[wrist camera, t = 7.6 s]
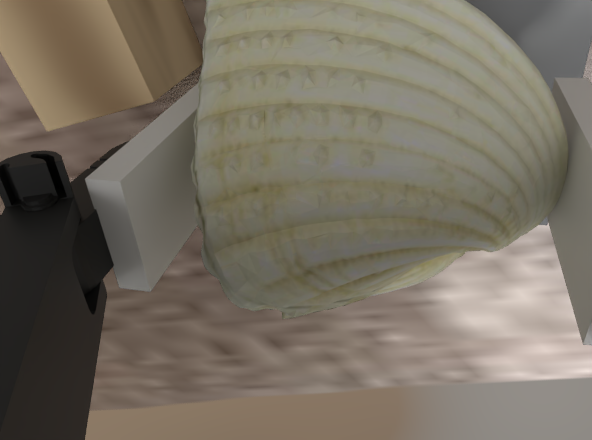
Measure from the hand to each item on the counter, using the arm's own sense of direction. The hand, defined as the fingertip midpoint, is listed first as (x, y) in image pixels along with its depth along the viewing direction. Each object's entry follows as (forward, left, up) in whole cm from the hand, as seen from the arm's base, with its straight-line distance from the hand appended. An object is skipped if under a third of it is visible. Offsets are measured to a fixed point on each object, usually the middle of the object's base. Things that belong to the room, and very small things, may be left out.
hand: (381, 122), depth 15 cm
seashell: (0, +1, 0) cm, 1 cm away
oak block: (-11, +1, -7) cm, 13 cm away
